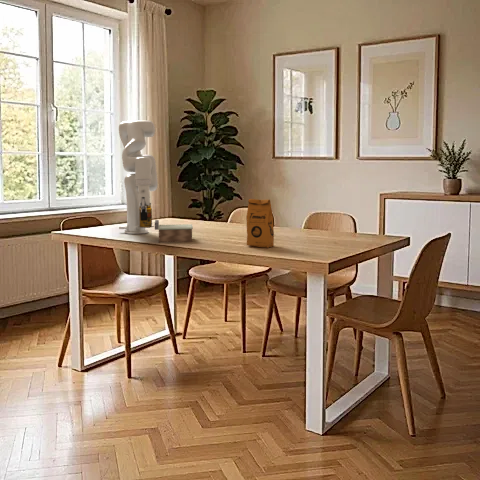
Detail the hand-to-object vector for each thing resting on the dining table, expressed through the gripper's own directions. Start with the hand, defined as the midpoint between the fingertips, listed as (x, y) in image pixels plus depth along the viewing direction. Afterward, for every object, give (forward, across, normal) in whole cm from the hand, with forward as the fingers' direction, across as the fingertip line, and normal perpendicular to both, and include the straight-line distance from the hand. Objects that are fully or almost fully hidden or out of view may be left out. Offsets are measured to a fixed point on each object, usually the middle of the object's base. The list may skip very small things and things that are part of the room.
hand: (144, 219), depth 305 cm
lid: (+4, 0, -14) cm, 15 cm away
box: (+11, 0, -15) cm, 18 cm away
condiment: (+4, 0, 0) cm, 4 cm away
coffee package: (+11, -24, -54) cm, 60 cm away
